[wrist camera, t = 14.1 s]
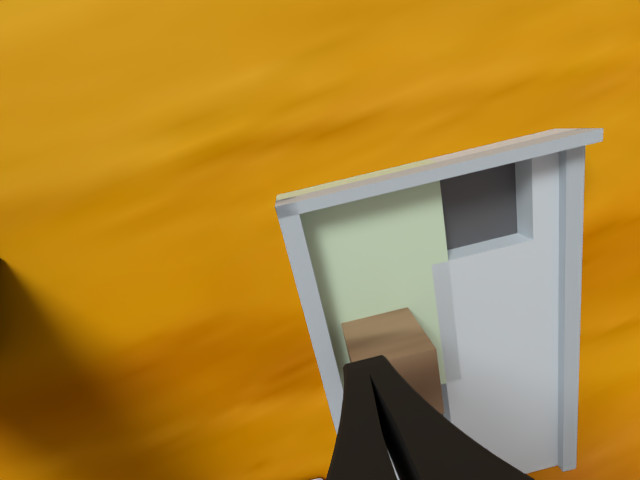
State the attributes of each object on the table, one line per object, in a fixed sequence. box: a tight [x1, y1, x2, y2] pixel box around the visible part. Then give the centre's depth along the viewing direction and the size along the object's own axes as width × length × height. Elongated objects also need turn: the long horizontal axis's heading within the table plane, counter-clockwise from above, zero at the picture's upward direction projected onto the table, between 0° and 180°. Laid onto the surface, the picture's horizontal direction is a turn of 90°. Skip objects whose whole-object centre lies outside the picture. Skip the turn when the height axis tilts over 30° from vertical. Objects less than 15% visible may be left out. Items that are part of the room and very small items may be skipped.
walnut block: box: [341, 307, 444, 414], centre depth 19 cm, size 4×4×4 cm
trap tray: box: [275, 128, 603, 480], centre depth 21 cm, size 24×16×3 cm, turn 13°
